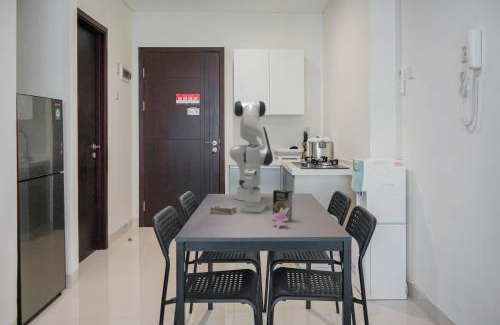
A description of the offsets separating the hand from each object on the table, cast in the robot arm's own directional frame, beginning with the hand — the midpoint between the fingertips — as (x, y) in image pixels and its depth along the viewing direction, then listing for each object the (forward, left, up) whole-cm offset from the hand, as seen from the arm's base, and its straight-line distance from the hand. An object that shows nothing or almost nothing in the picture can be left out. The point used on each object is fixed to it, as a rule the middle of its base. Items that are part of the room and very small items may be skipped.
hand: (253, 194), depth 252 cm
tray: (0, 0, -10) cm, 10 cm away
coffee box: (+20, +23, -11) cm, 32 cm away
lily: (+36, +26, -11) cm, 45 cm away
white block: (0, 0, -4) cm, 4 cm away
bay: (+10, -15, -10) cm, 21 cm away
